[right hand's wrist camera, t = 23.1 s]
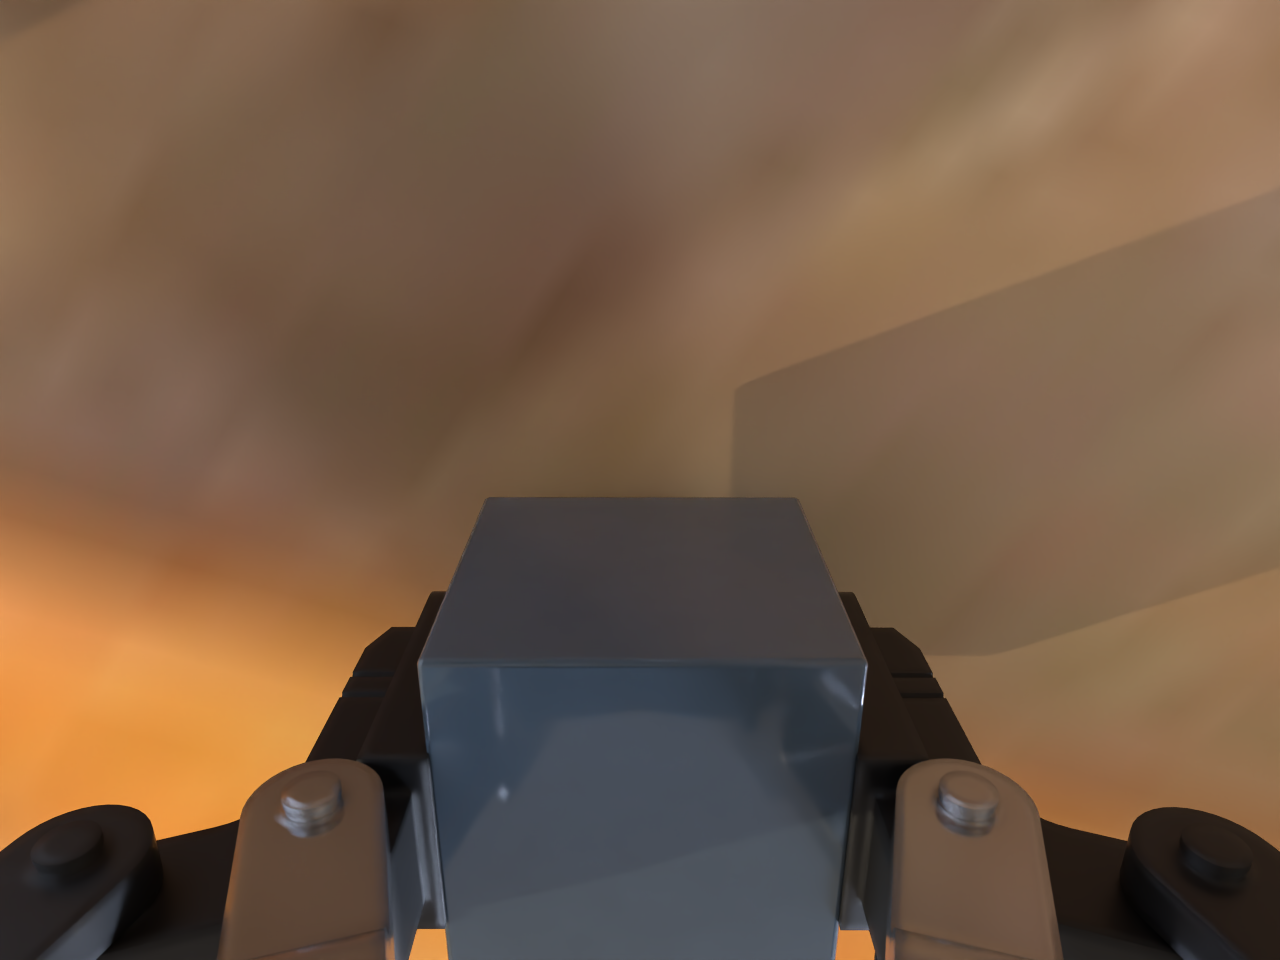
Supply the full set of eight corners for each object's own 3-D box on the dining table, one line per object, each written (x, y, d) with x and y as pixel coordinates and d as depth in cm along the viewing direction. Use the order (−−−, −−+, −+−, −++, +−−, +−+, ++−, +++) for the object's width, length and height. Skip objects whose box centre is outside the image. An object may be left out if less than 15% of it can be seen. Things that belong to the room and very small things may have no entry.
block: (780, 762, 14) (832, 1002, 10) (502, 762, 14) (451, 1001, 10) (799, 494, 12) (870, 662, 8) (484, 494, 12) (413, 661, 8)
